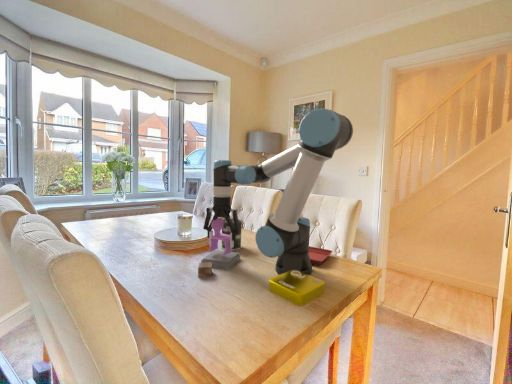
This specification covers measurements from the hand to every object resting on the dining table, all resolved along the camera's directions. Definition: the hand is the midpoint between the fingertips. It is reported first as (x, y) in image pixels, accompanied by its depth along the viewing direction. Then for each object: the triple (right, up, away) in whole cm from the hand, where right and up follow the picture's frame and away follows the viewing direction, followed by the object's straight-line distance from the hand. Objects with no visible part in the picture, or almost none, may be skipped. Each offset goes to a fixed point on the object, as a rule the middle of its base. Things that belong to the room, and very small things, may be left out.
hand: (221, 246), depth 118 cm
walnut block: (-5, -9, -12) cm, 16 cm away
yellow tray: (+30, -11, -24) cm, 40 cm away
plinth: (0, -7, +1) cm, 7 cm away
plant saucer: (+41, -8, +10) cm, 42 cm away
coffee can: (+2, -5, +22) cm, 22 cm away
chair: (0, -3, 0) cm, 3 cm away
